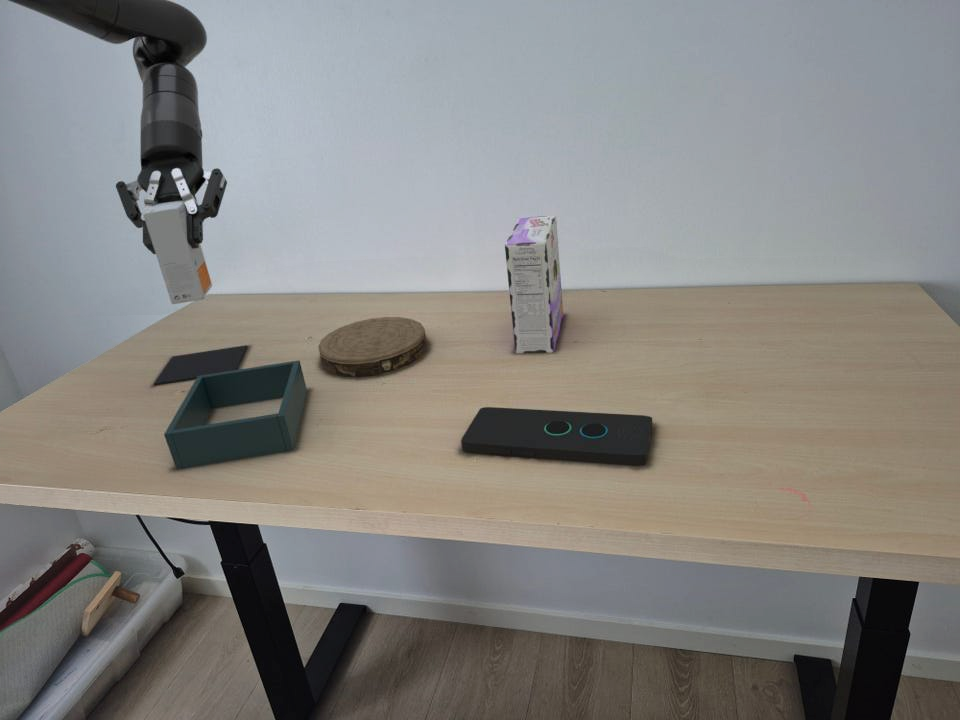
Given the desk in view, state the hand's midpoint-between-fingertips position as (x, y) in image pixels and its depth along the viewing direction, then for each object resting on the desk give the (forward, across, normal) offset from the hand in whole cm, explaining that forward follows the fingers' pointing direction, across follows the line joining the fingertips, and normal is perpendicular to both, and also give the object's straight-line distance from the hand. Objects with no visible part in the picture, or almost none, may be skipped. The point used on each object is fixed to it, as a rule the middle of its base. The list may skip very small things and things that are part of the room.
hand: (173, 247), depth 88 cm
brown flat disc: (+11, +21, +21) cm, 32 cm away
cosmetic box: (+4, 0, +6) cm, 8 cm away
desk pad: (+6, -6, +25) cm, 26 cm away
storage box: (+22, +6, +8) cm, 25 cm away
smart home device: (+33, +42, -2) cm, 54 cm away
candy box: (+12, +46, +20) cm, 52 cm away
